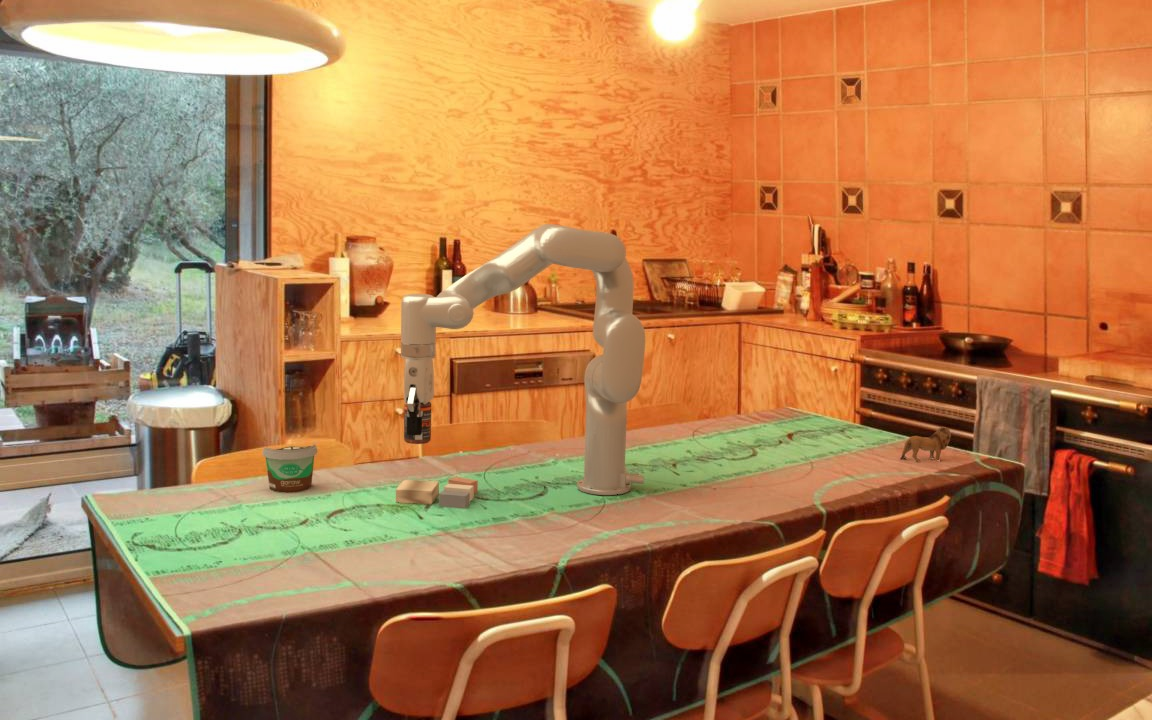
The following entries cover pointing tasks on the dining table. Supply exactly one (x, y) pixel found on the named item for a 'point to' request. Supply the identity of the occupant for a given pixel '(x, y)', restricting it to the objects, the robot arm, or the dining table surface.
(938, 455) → the lion figurine
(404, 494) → the oak slab
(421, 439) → the supplement bottle
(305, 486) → the food container
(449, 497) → the brick slate
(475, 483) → the brick terracotta
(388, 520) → the dining table surface
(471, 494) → the brick cream
